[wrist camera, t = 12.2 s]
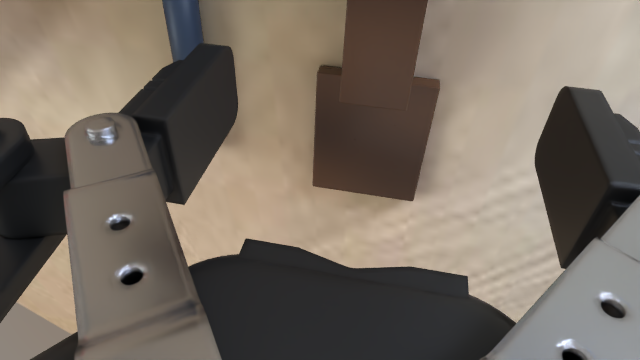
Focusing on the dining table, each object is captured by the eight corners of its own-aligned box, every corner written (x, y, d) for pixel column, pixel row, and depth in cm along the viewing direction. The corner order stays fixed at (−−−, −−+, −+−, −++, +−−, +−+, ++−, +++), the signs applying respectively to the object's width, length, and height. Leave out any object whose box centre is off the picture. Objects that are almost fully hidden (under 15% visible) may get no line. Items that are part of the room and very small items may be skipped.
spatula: (338, -351, 13) (317, -381, 11) (539, -346, 13) (564, -378, 10) (314, 177, 26) (303, 216, 24) (413, 192, 26) (411, 234, 23)
